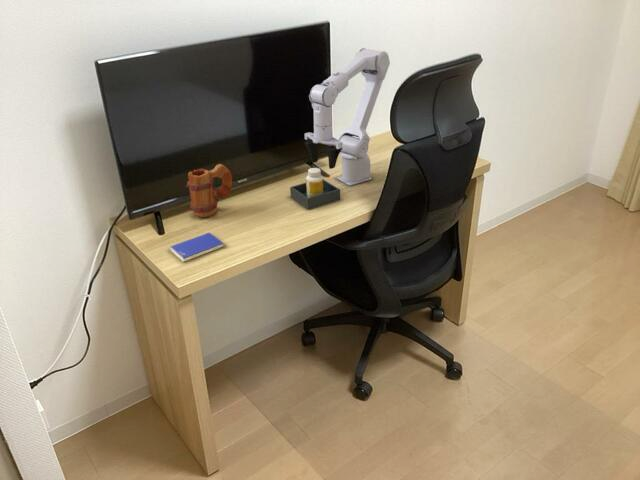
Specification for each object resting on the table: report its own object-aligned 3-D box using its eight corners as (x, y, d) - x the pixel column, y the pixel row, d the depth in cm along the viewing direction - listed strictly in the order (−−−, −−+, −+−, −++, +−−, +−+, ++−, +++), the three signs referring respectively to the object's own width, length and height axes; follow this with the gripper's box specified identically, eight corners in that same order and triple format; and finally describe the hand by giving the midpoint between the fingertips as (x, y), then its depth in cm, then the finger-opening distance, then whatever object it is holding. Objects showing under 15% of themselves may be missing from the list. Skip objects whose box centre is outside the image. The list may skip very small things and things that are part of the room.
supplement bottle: (303, 196, 189) (302, 169, 185) (316, 192, 192) (315, 165, 188) (314, 202, 186) (312, 174, 181) (326, 197, 189) (325, 170, 184)
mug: (194, 222, 177) (187, 177, 170) (186, 212, 184) (179, 168, 176) (239, 211, 183) (234, 167, 175) (230, 201, 189) (225, 158, 182)
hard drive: (183, 257, 156) (222, 242, 163) (169, 245, 162) (208, 231, 169) (183, 262, 157) (223, 247, 164) (170, 250, 163) (209, 236, 169)
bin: (321, 188, 196) (321, 178, 194) (340, 199, 188) (340, 189, 186) (290, 197, 191) (290, 187, 189) (308, 209, 182) (307, 199, 181)
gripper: (297, 122, 182) (298, 162, 189) (331, 132, 173) (332, 174, 180) (312, 117, 187) (313, 157, 193) (346, 126, 178) (346, 167, 185)
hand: (323, 164), depth 187 cm, fingers open, 7 cm apart
